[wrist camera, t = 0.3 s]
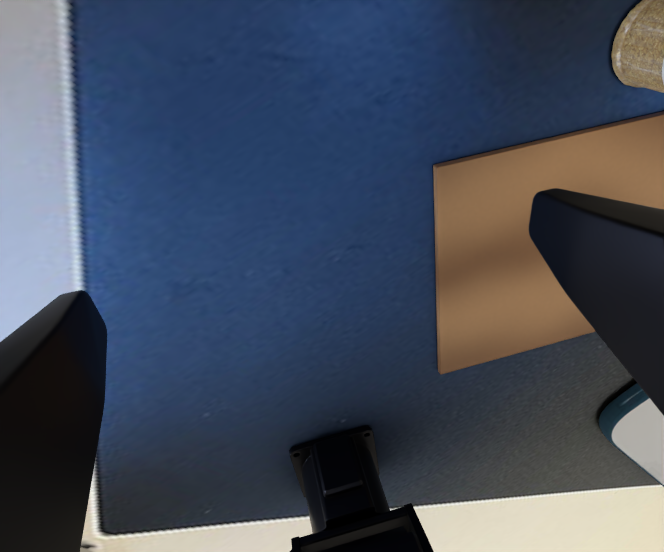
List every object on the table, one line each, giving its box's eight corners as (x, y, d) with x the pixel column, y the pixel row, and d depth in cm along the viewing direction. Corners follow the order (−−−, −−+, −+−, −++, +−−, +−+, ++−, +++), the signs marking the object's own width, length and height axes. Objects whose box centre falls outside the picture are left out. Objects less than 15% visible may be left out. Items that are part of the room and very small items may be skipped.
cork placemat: (703, 296, 36) (709, 299, 36) (437, 370, 34) (440, 375, 34) (790, 81, 27) (799, 82, 26) (432, 164, 25) (436, 167, 24)
